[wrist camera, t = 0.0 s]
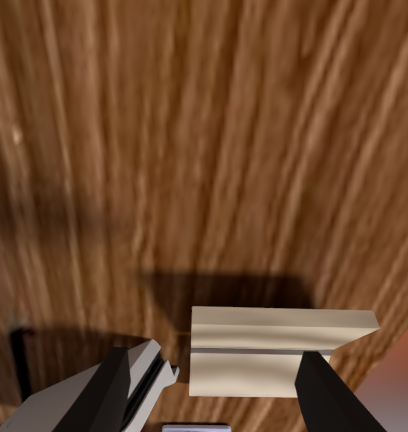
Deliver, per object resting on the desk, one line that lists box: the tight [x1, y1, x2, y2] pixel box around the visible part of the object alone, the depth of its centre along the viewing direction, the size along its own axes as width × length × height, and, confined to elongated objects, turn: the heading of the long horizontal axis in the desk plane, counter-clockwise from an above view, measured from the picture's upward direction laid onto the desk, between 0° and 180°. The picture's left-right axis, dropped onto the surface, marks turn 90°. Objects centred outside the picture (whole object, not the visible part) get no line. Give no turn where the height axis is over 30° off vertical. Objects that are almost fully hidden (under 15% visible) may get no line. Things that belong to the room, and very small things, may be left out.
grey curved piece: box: [0, 339, 180, 432], centre depth 22 cm, size 17×5×10 cm, turn 121°
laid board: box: [189, 346, 333, 397], centre depth 24 cm, size 7×13×1 cm, turn 87°
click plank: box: [191, 306, 380, 349], centre depth 20 cm, size 7×13×1 cm, turn 88°
